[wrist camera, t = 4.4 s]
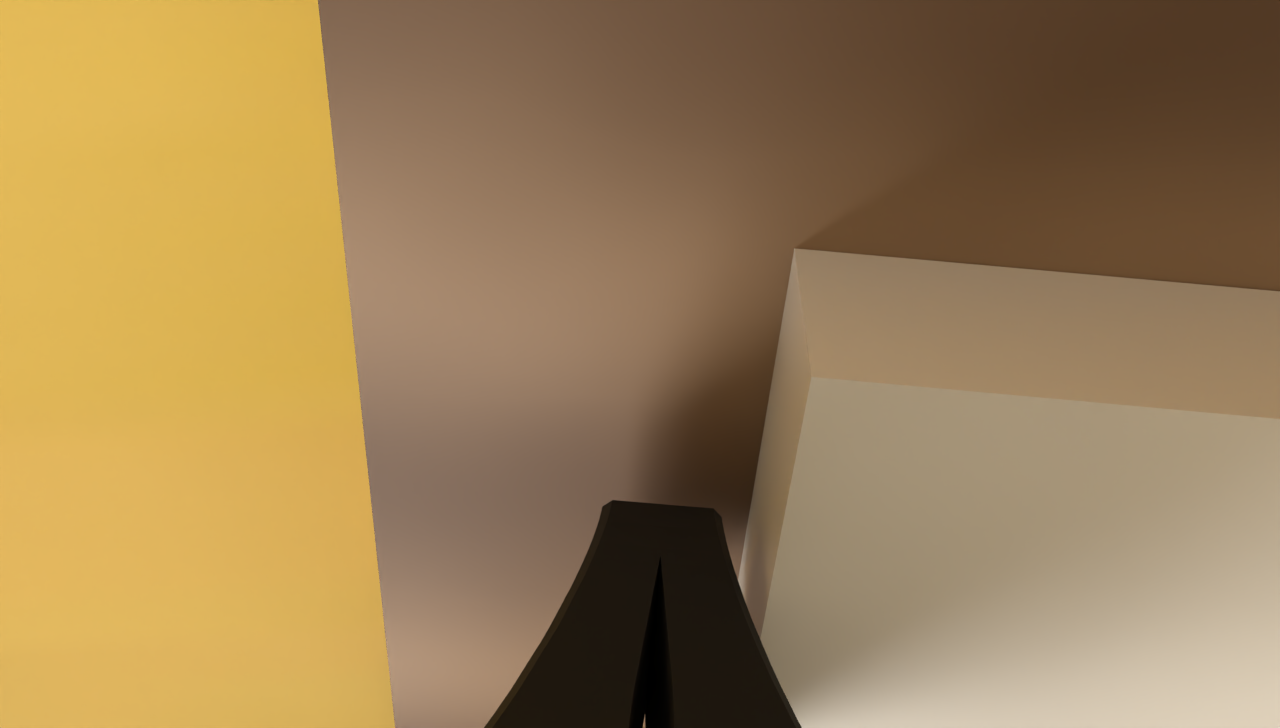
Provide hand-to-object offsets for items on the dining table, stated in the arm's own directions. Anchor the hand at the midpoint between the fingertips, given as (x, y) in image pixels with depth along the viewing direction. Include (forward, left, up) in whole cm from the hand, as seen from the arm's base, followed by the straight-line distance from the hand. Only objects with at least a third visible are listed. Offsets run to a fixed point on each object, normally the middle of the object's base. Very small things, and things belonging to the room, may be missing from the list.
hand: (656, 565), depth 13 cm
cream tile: (0, -4, 0) cm, 4 cm away
